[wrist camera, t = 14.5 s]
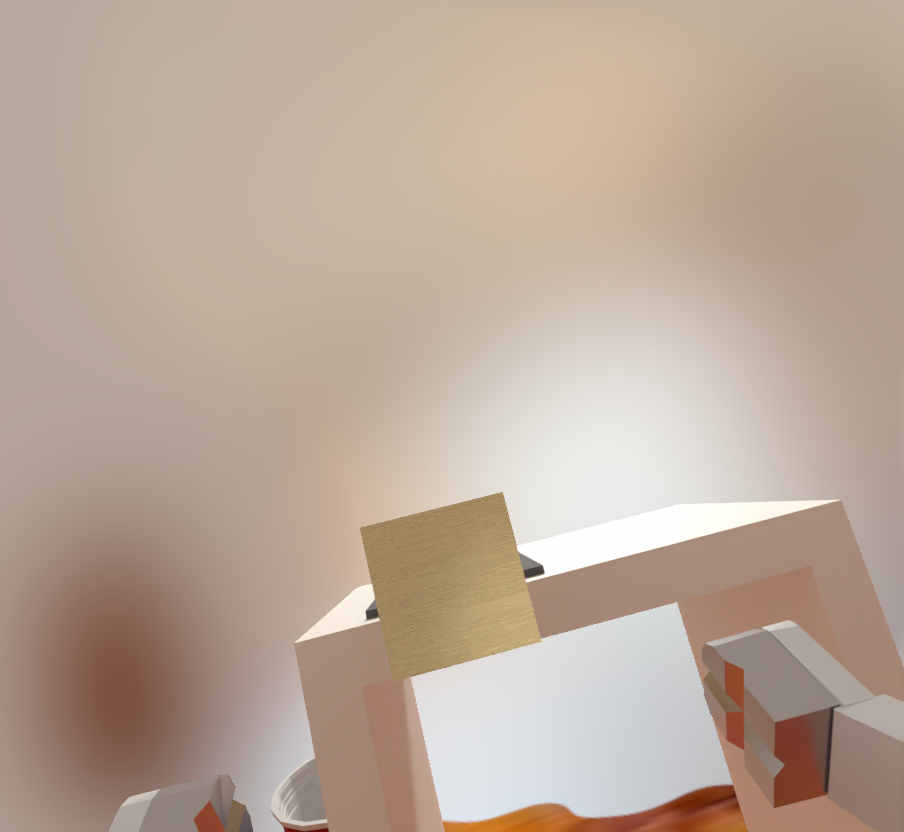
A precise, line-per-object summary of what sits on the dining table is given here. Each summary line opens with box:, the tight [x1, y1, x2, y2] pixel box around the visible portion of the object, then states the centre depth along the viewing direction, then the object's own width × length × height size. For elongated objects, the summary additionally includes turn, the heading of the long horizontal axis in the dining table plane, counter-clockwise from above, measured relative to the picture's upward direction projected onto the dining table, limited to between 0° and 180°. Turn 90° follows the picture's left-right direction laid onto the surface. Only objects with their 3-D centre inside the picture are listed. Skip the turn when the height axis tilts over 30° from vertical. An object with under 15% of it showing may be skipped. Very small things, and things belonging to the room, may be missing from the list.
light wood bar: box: [360, 492, 541, 682], centre depth 21 cm, size 3×22×3 cm, turn 1°
